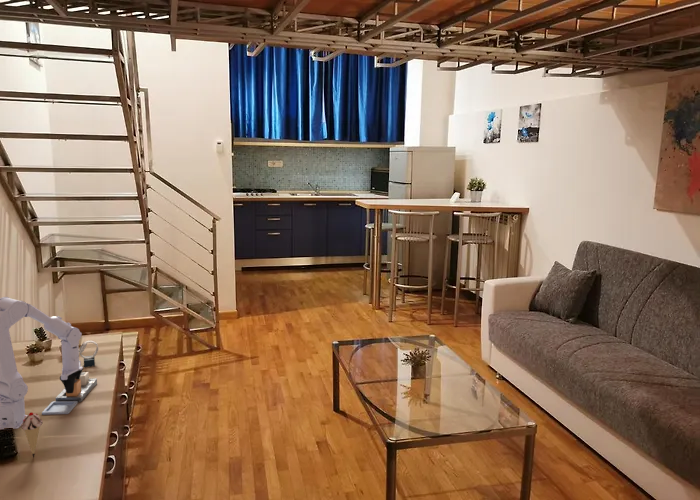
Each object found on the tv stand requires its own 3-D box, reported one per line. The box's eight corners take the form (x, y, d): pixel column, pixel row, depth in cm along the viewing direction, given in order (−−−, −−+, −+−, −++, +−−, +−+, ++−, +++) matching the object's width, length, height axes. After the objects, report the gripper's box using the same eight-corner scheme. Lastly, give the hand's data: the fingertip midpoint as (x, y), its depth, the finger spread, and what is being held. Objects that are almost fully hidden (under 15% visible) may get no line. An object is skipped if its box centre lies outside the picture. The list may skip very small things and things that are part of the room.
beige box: (85, 390, 210) (84, 375, 209) (75, 390, 210) (74, 375, 209) (89, 385, 214) (88, 371, 213) (78, 386, 214) (78, 371, 213)
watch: (79, 363, 237) (78, 340, 236) (98, 361, 241) (98, 338, 239) (79, 367, 232) (78, 344, 231) (99, 365, 236) (98, 342, 234)
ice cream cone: (40, 450, 166) (37, 406, 163) (47, 457, 162) (45, 412, 160) (20, 457, 161) (17, 412, 159) (27, 465, 158) (24, 418, 156)
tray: (68, 414, 190) (68, 411, 189) (41, 415, 188) (41, 412, 188) (77, 403, 198) (77, 400, 198) (52, 404, 197) (52, 401, 197)
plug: (77, 398, 201) (76, 383, 200) (66, 398, 200) (65, 383, 199) (81, 393, 204) (80, 378, 204) (70, 394, 204) (69, 378, 203)
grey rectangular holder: (81, 403, 199) (81, 396, 199) (55, 403, 198) (55, 397, 197) (97, 383, 217) (97, 378, 216) (74, 384, 215) (73, 378, 215)
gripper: (74, 363, 193) (76, 398, 195) (88, 350, 207) (89, 382, 209) (54, 363, 192) (56, 398, 194) (69, 350, 206) (71, 382, 208)
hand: (72, 390), depth 202 cm, fingers closed on plug, 4 cm apart
